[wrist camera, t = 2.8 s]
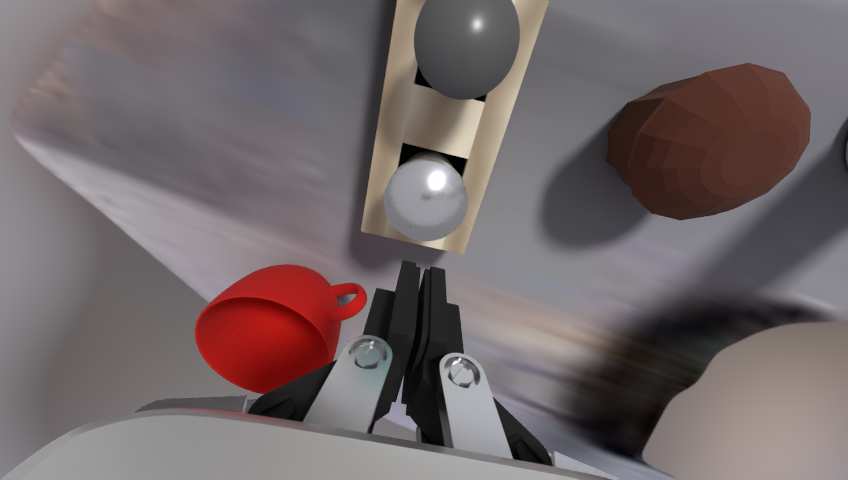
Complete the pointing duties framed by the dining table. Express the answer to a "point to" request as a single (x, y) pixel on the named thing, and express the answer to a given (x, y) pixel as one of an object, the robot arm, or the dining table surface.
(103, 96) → the dining table surface
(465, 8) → the dark gray knob
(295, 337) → the ceramic cup
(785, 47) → the dining table surface
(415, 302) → the robot arm
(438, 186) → the steel knob
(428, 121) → the box
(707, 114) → the muffin
